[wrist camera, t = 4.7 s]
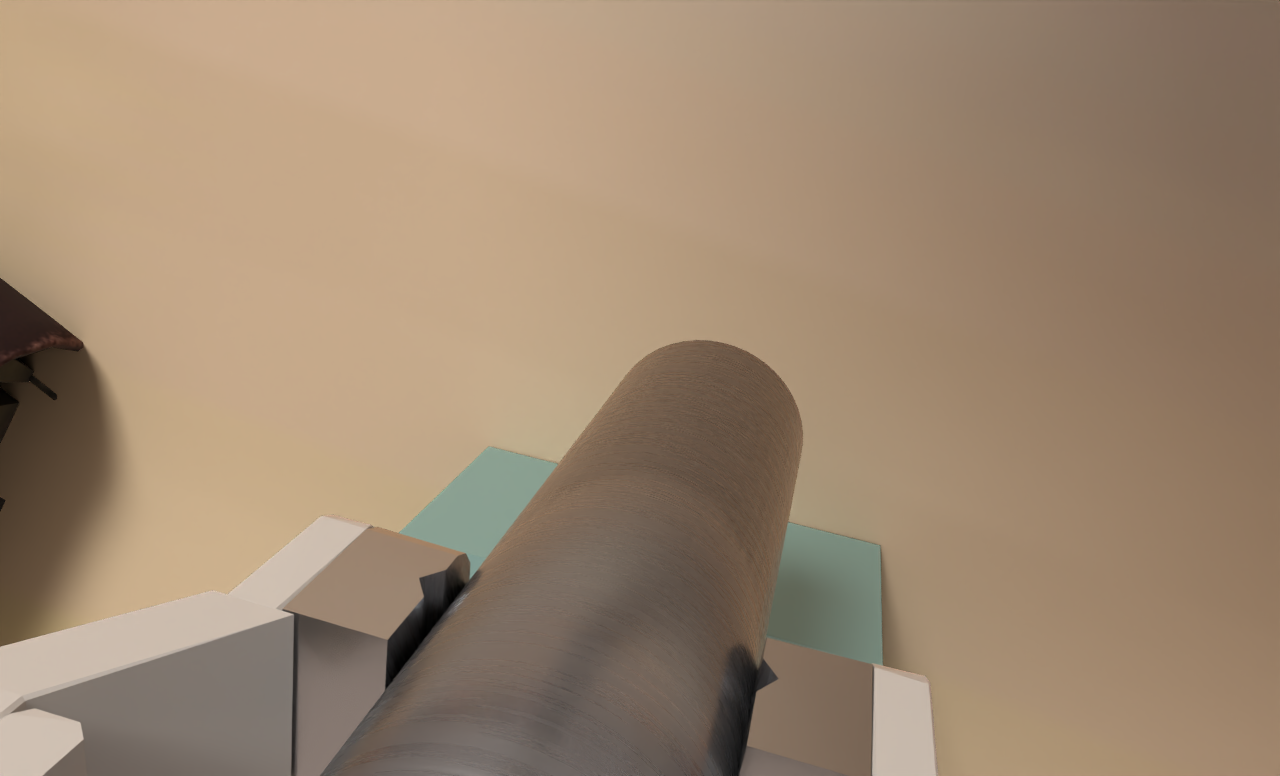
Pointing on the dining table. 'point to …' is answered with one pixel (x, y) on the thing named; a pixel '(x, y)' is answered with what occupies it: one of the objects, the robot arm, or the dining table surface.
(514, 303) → the dining table surface
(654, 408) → the peg
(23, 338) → the diary
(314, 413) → the dining table surface
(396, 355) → the dining table surface
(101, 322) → the dining table surface
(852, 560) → the hole block
